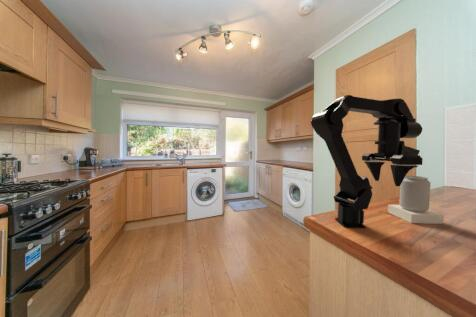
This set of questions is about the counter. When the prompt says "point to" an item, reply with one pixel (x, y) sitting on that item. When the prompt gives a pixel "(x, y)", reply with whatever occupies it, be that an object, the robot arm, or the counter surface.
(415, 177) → the can
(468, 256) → the counter surface
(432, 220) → the socket block
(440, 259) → the counter surface
